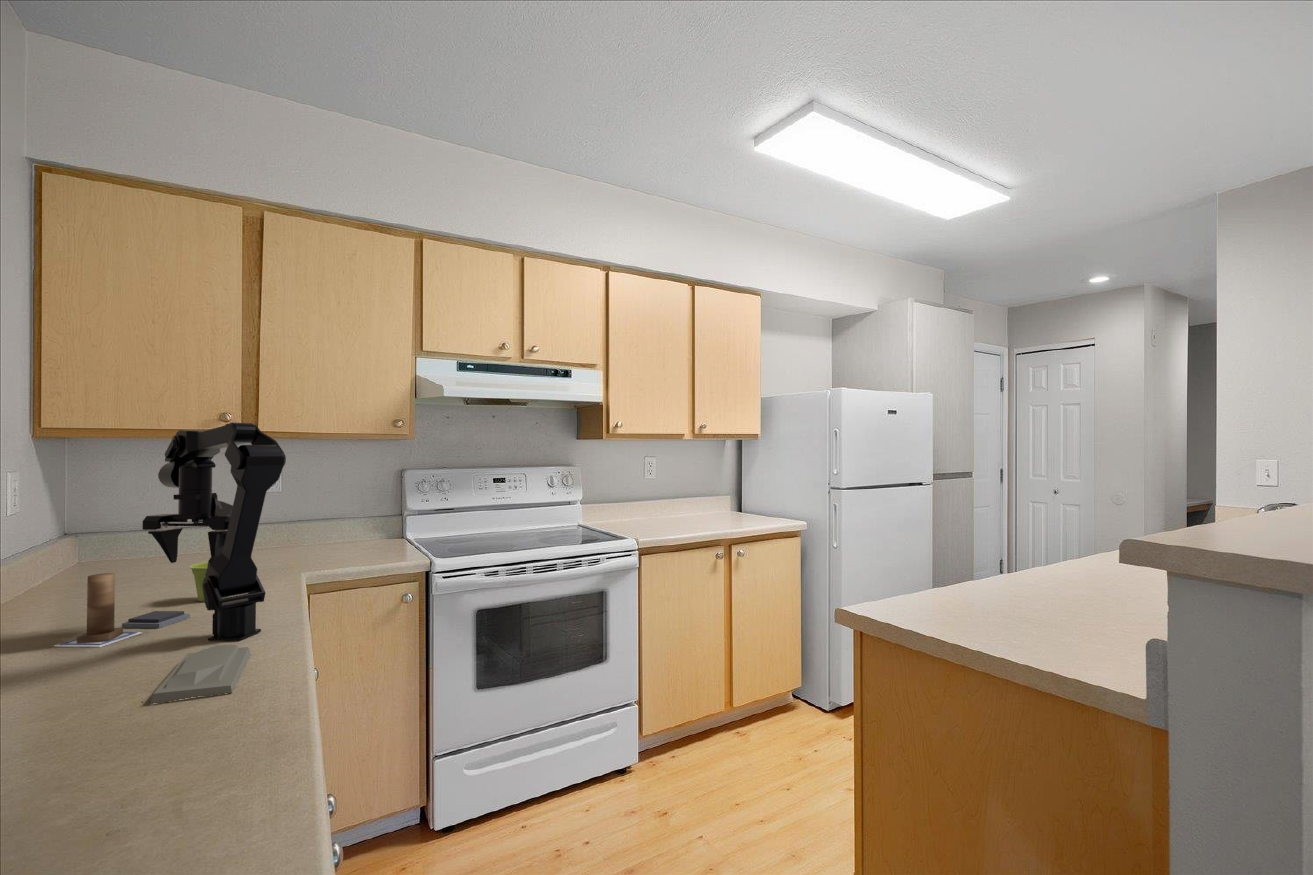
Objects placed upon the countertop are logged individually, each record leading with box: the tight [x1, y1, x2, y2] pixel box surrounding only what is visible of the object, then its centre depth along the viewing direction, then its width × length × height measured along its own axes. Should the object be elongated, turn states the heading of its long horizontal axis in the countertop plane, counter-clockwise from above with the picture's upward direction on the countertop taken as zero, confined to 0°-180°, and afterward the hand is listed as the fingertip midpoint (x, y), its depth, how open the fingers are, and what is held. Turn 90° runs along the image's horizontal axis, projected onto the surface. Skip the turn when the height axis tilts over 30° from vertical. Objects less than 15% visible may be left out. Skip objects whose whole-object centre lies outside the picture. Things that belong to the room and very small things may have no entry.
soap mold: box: [149, 644, 252, 704], centre depth 100 cm, size 10×20×4 cm, turn 26°
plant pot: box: [189, 561, 227, 603], centre depth 154 cm, size 9×9×9 cm
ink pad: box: [121, 610, 191, 629], centre depth 132 cm, size 8×8×2 cm
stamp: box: [76, 572, 124, 643], centre depth 121 cm, size 5×5×12 cm
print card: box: [53, 631, 143, 648], centre depth 120 cm, size 9×9×1 cm
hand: (194, 562), depth 131 cm, fingers open, 9 cm apart
